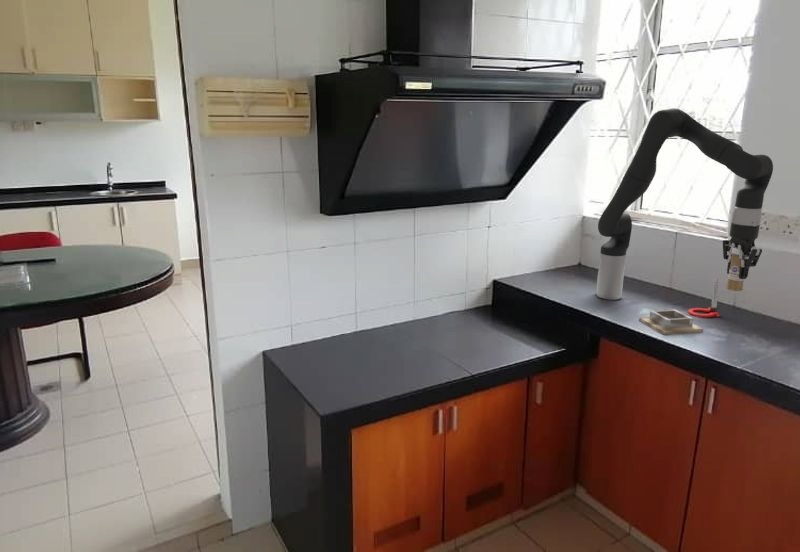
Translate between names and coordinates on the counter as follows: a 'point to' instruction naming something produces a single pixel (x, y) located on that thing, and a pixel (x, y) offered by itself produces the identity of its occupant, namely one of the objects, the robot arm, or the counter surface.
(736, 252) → the sprinkles bottle
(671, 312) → the keeper
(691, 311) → the tow hook
